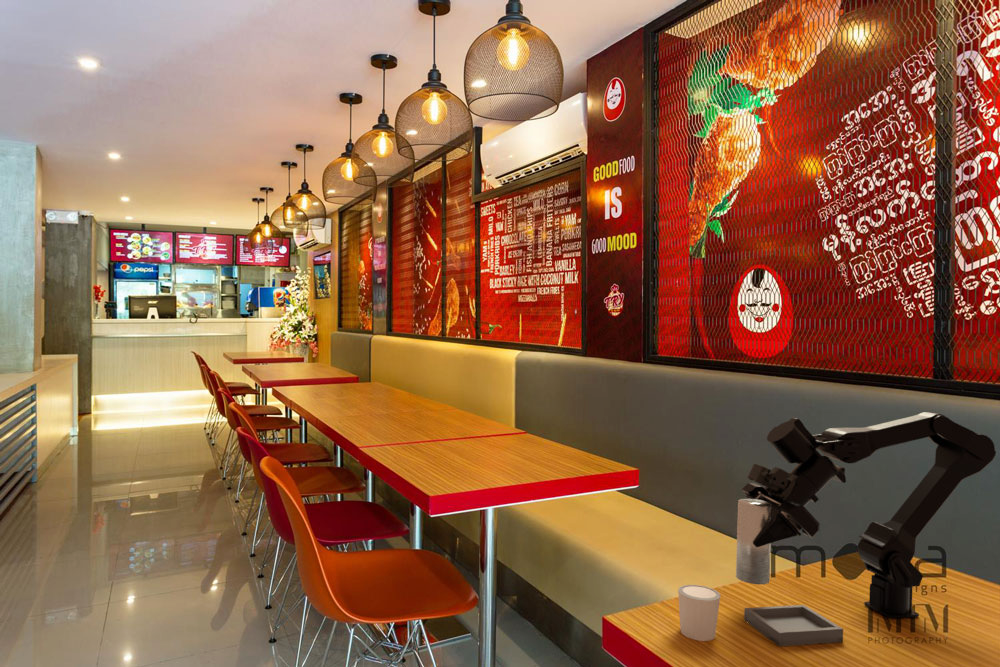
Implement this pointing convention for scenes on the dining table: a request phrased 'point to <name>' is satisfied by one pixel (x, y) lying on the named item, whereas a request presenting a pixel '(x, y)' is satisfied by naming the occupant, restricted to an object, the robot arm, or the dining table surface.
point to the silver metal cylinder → (749, 557)
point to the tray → (793, 625)
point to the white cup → (698, 611)
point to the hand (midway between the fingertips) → (746, 539)
